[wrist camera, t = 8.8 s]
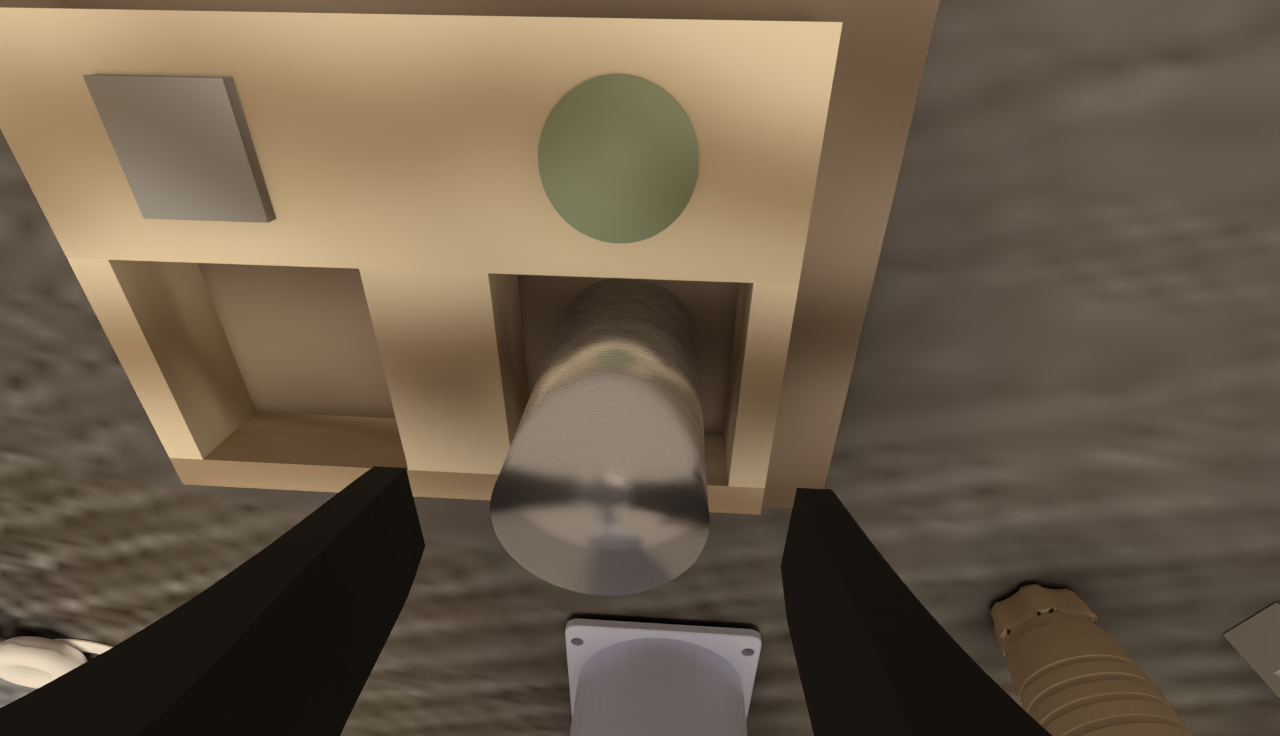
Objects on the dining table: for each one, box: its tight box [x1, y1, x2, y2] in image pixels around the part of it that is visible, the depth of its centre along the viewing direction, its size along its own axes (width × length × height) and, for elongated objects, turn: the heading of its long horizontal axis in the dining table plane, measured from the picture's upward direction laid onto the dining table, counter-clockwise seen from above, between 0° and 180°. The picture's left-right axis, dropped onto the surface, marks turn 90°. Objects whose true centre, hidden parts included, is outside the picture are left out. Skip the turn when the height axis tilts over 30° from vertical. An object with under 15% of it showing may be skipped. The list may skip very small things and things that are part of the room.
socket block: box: [0, 0, 940, 515], centre depth 15 cm, size 16×22×3 cm
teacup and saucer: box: [0, 636, 113, 688], centre depth 27 cm, size 9×8×4 cm
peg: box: [490, 278, 709, 596], centre depth 13 cm, size 4×4×7 cm
